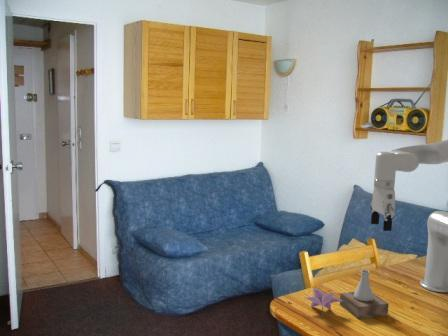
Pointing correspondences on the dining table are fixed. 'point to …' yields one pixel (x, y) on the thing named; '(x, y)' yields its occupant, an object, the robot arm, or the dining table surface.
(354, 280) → the dining table surface
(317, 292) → the lily
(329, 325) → the dining table surface
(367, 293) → the flask
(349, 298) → the walnut block
